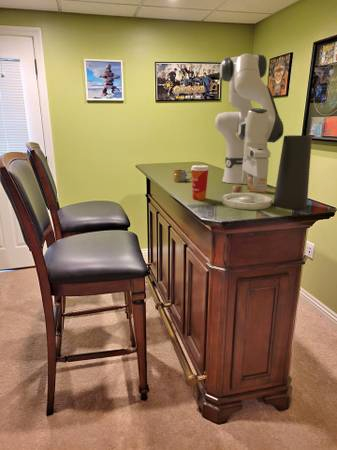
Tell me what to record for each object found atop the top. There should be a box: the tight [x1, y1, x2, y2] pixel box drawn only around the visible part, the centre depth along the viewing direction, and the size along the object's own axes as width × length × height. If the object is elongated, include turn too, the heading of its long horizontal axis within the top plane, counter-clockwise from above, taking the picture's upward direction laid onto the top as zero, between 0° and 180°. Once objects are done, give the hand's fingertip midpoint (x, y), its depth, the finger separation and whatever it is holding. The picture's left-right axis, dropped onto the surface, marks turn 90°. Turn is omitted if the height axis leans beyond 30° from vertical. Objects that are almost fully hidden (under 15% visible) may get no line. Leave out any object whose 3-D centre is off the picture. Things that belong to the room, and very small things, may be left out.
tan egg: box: [246, 176, 258, 191], centre depth 138 cm, size 4×4×5 cm
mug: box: [173, 169, 192, 183], centre depth 199 cm, size 12×7×7 cm, turn 96°
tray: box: [220, 192, 273, 211], centre depth 147 cm, size 21×21×2 cm
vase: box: [272, 134, 313, 210], centre depth 140 cm, size 14×14×29 cm
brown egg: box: [231, 184, 242, 193], centre depth 160 cm, size 4×4×5 cm
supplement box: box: [249, 170, 269, 194], centre depth 170 cm, size 8×5×13 cm, turn 71°
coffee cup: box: [190, 164, 210, 201], centre depth 154 cm, size 8×8×15 cm
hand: (252, 185), depth 139 cm, fingers closed on tan egg, 4 cm apart
